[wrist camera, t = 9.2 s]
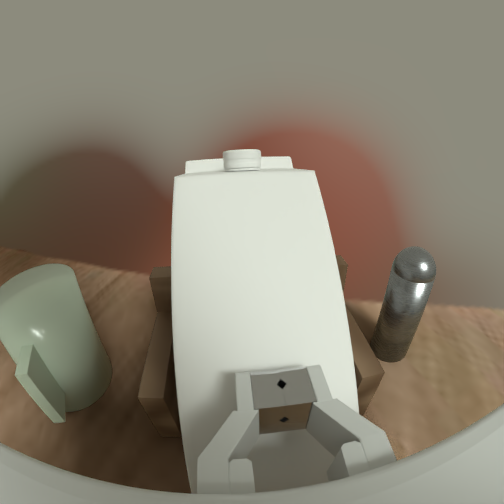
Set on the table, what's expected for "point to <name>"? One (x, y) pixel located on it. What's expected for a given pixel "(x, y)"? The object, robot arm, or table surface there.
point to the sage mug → (53, 340)
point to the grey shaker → (403, 303)
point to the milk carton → (254, 303)
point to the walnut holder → (163, 368)
